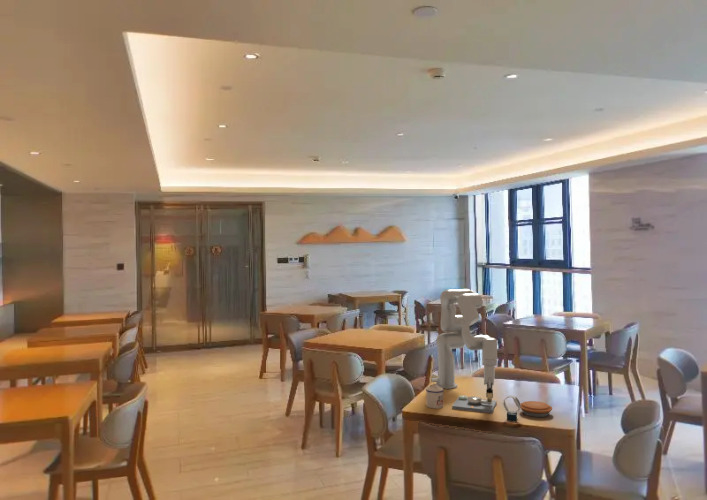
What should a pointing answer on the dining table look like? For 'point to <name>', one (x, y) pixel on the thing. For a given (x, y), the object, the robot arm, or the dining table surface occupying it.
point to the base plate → (473, 405)
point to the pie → (535, 409)
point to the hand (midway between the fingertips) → (489, 397)
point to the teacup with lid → (434, 396)
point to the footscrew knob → (480, 399)
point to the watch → (512, 414)
